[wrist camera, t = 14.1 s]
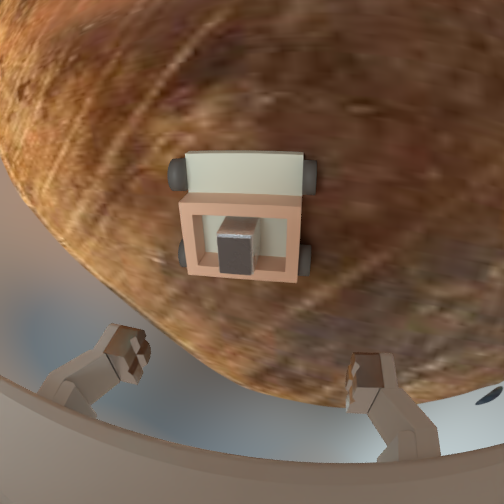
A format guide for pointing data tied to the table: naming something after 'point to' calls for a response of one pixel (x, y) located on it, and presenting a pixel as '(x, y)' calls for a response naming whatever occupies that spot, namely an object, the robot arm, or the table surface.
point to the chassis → (244, 208)
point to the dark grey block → (239, 244)
